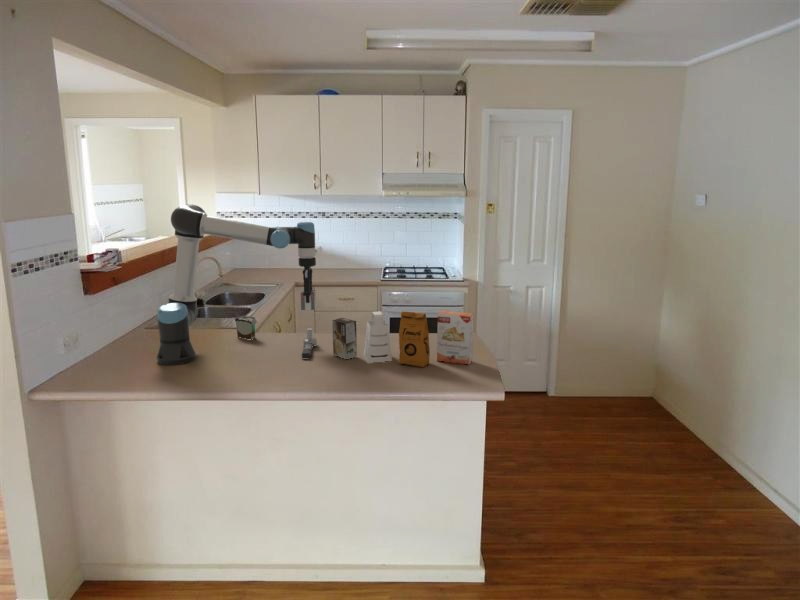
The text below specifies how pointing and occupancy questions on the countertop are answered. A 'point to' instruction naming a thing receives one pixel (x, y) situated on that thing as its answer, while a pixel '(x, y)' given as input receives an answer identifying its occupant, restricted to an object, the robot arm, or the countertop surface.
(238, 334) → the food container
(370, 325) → the grater
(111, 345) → the countertop surface
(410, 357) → the coffee package
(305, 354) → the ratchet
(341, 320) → the coffee box
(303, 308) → the red-striped grey cube
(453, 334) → the cracker box
